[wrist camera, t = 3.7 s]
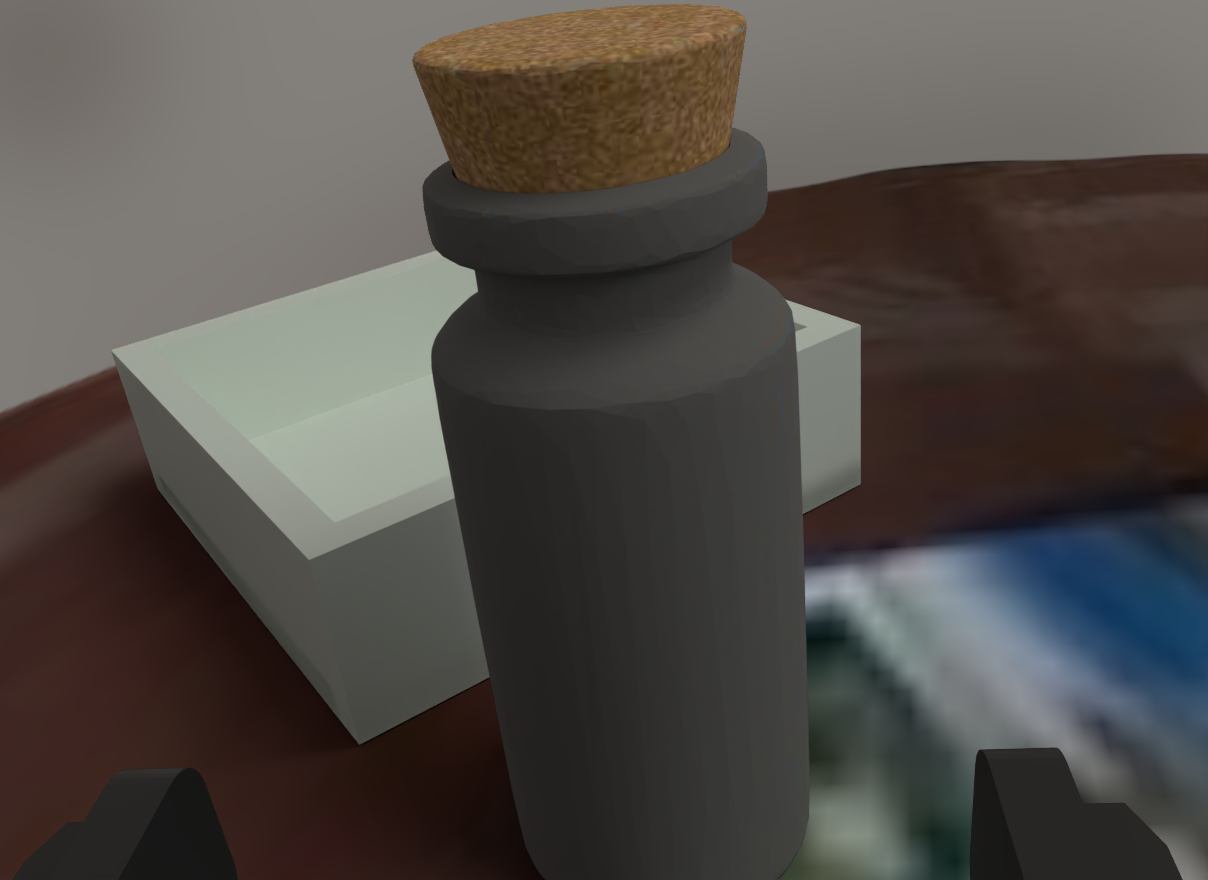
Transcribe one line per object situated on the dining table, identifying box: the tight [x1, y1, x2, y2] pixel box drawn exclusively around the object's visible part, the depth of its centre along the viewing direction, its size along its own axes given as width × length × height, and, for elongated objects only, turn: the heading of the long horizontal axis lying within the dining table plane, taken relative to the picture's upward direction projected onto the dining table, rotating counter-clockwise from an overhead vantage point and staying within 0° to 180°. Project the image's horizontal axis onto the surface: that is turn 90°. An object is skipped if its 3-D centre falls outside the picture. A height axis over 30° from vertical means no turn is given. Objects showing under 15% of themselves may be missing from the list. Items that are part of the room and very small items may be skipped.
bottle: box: [412, 4, 810, 880], centre depth 19 cm, size 6×6×15 cm
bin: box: [111, 251, 861, 745], centre depth 34 cm, size 16×16×5 cm
